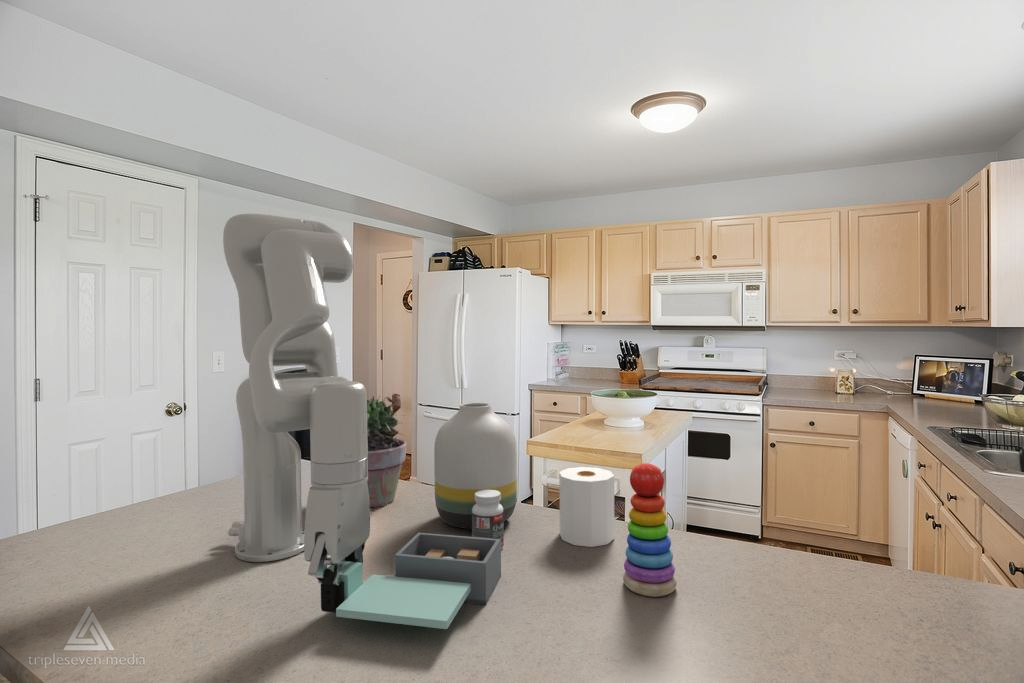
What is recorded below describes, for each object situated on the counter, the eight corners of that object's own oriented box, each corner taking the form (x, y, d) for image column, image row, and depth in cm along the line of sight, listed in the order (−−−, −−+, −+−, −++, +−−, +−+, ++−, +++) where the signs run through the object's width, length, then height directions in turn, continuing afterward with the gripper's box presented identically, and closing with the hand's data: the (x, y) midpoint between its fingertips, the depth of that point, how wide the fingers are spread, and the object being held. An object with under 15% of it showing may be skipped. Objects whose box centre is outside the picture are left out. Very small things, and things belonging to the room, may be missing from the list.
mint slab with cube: (308, 613, 70) (307, 582, 70) (348, 578, 79) (347, 552, 79) (446, 629, 66) (446, 596, 65) (470, 590, 75) (470, 562, 75)
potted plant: (327, 493, 130) (325, 390, 129) (409, 487, 135) (408, 388, 134) (319, 518, 112) (317, 400, 112) (413, 510, 117) (412, 396, 117)
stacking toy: (677, 578, 84) (677, 460, 84) (675, 603, 77) (675, 473, 76) (626, 571, 87) (626, 456, 86) (619, 594, 79) (619, 468, 79)
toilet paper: (608, 550, 95) (608, 483, 95) (552, 542, 99) (552, 477, 99) (618, 530, 105) (618, 469, 104) (567, 523, 108) (567, 464, 108)
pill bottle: (499, 555, 93) (499, 499, 93) (468, 553, 94) (467, 497, 94) (506, 542, 99) (506, 489, 99) (476, 540, 100) (476, 487, 100)
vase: (534, 521, 110) (533, 405, 109) (466, 543, 99) (465, 413, 98) (484, 502, 123) (483, 397, 122) (419, 519, 112) (418, 404, 111)
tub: (395, 595, 80) (394, 555, 79) (418, 568, 88) (418, 532, 88) (486, 604, 77) (485, 563, 76) (501, 576, 85) (500, 539, 85)
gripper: (346, 456, 83) (348, 573, 83) (276, 486, 67) (279, 632, 67) (391, 458, 81) (393, 578, 81) (331, 489, 65) (333, 639, 65)
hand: (342, 601), depth 74 cm, fingers closed on mint slab with cube, 4 cm apart
